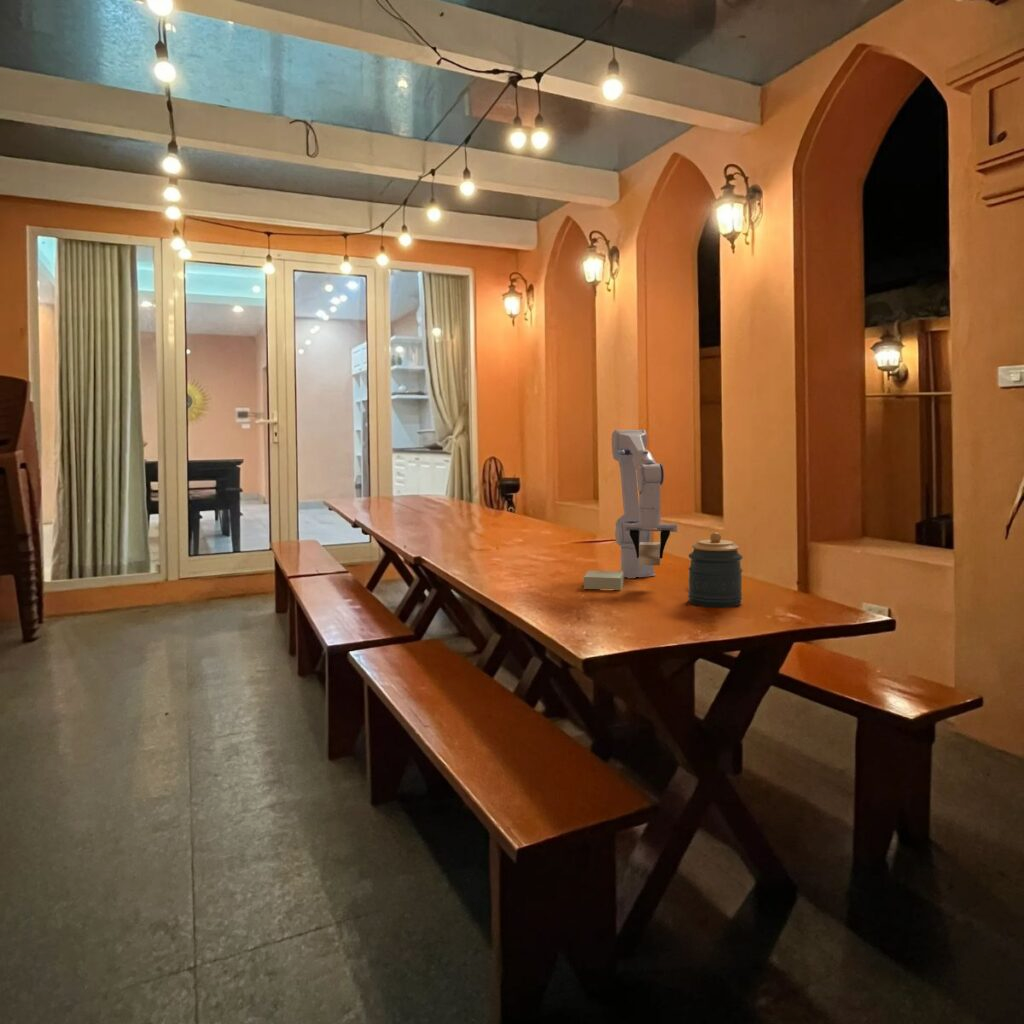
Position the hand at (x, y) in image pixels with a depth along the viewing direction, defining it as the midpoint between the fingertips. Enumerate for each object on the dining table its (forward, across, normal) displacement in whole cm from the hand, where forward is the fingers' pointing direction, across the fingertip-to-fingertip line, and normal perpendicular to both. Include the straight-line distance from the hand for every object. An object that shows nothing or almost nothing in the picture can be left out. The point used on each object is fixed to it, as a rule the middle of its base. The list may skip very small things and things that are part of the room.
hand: (649, 557), depth 200 cm
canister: (+9, +17, -16) cm, 24 cm away
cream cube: (+2, 0, 0) cm, 2 cm away
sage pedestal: (+8, -12, 0) cm, 15 cm away
